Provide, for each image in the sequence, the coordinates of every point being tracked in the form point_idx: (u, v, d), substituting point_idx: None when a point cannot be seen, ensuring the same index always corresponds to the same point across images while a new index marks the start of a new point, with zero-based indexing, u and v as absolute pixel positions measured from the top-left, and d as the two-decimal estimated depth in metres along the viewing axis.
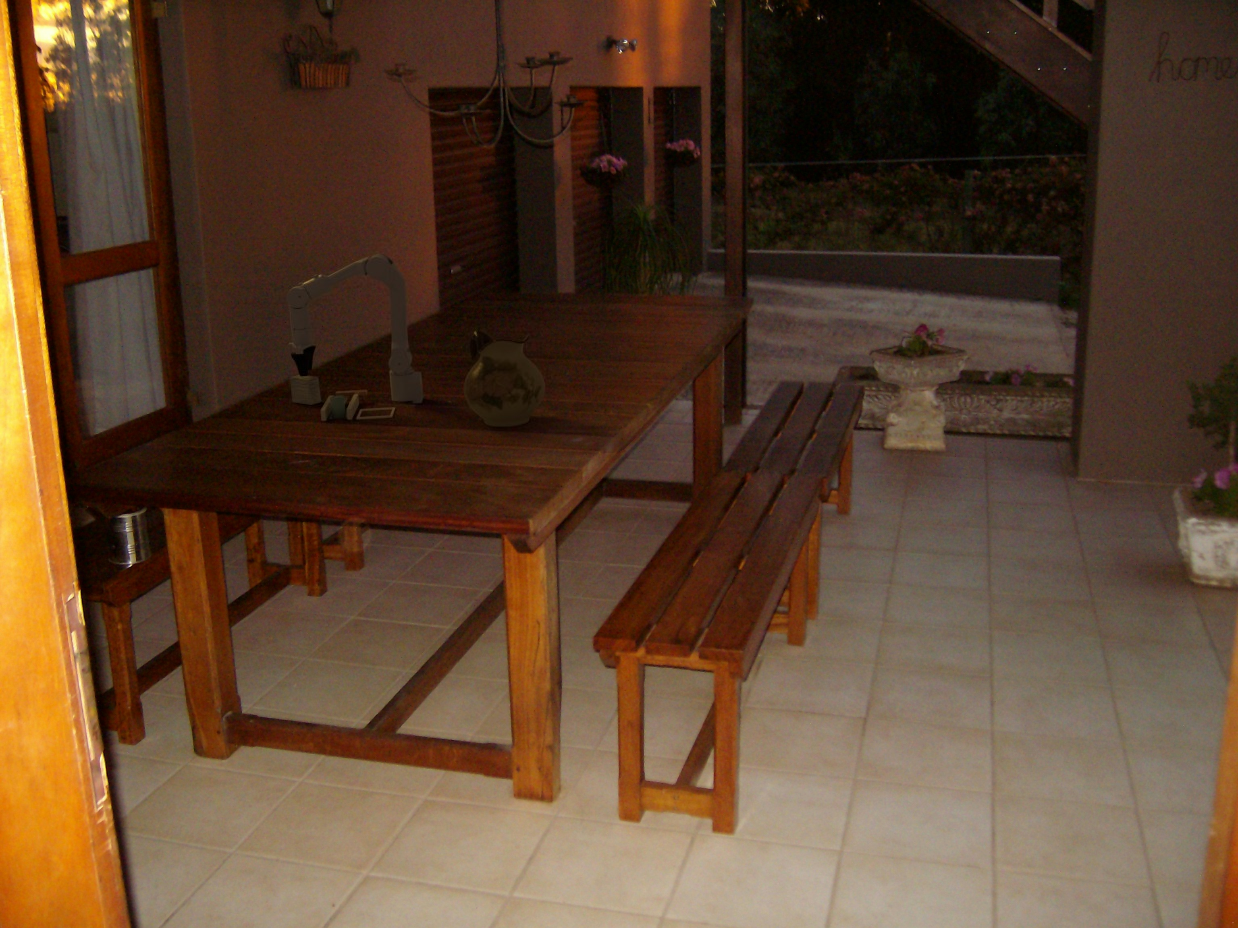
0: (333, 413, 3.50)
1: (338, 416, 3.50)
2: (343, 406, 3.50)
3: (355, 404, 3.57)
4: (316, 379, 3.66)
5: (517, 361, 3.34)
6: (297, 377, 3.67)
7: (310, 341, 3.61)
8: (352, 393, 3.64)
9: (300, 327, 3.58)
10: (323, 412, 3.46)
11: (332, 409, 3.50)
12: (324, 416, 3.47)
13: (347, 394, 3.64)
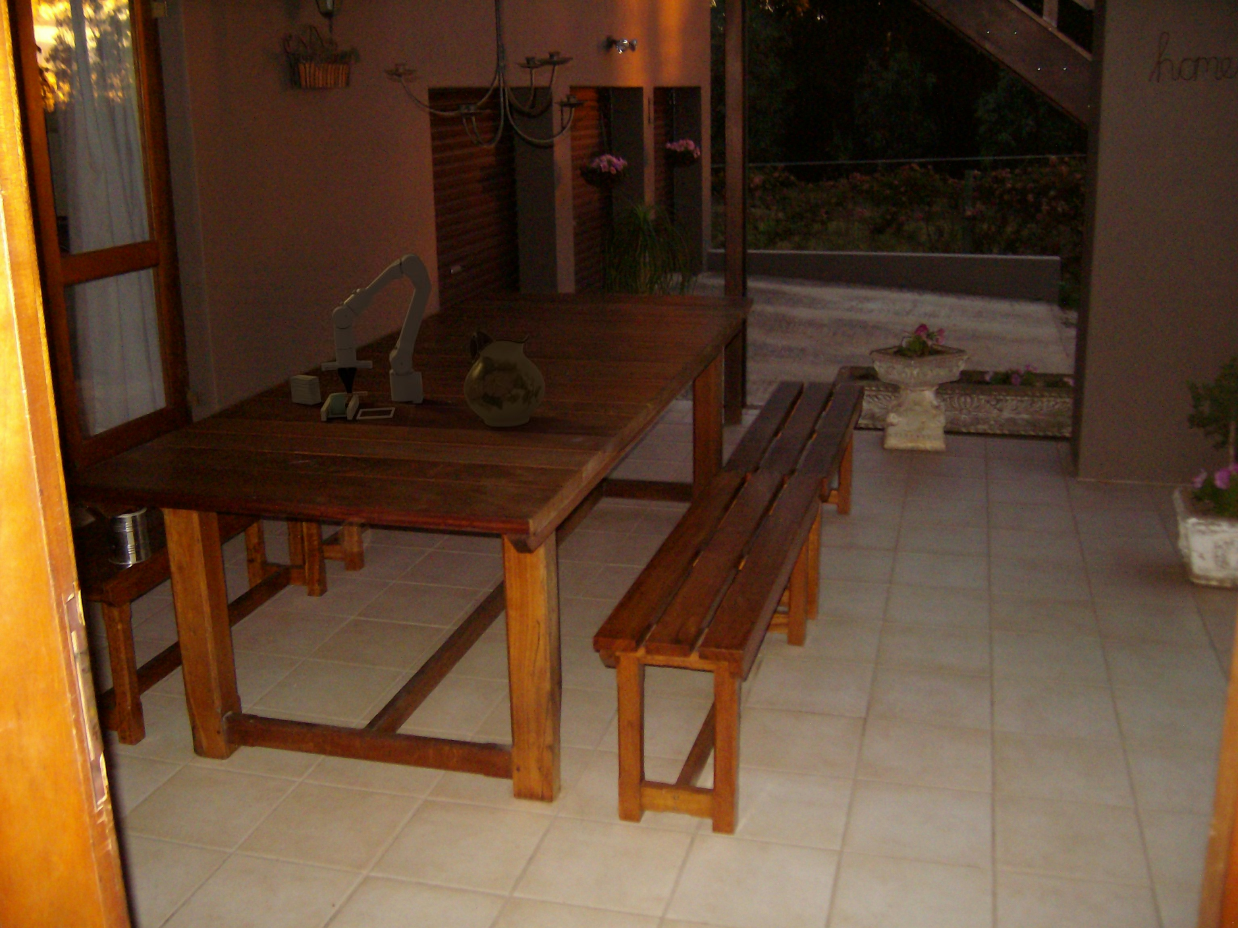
0: (333, 410, 3.49)
1: (338, 413, 3.49)
2: (343, 403, 3.50)
3: (355, 404, 3.57)
4: (316, 379, 3.66)
5: (517, 361, 3.34)
6: (297, 377, 3.67)
7: (340, 362, 3.60)
8: (352, 394, 3.64)
9: (346, 347, 3.59)
10: (323, 412, 3.46)
11: (332, 406, 3.49)
12: (324, 416, 3.47)
13: (347, 395, 3.64)
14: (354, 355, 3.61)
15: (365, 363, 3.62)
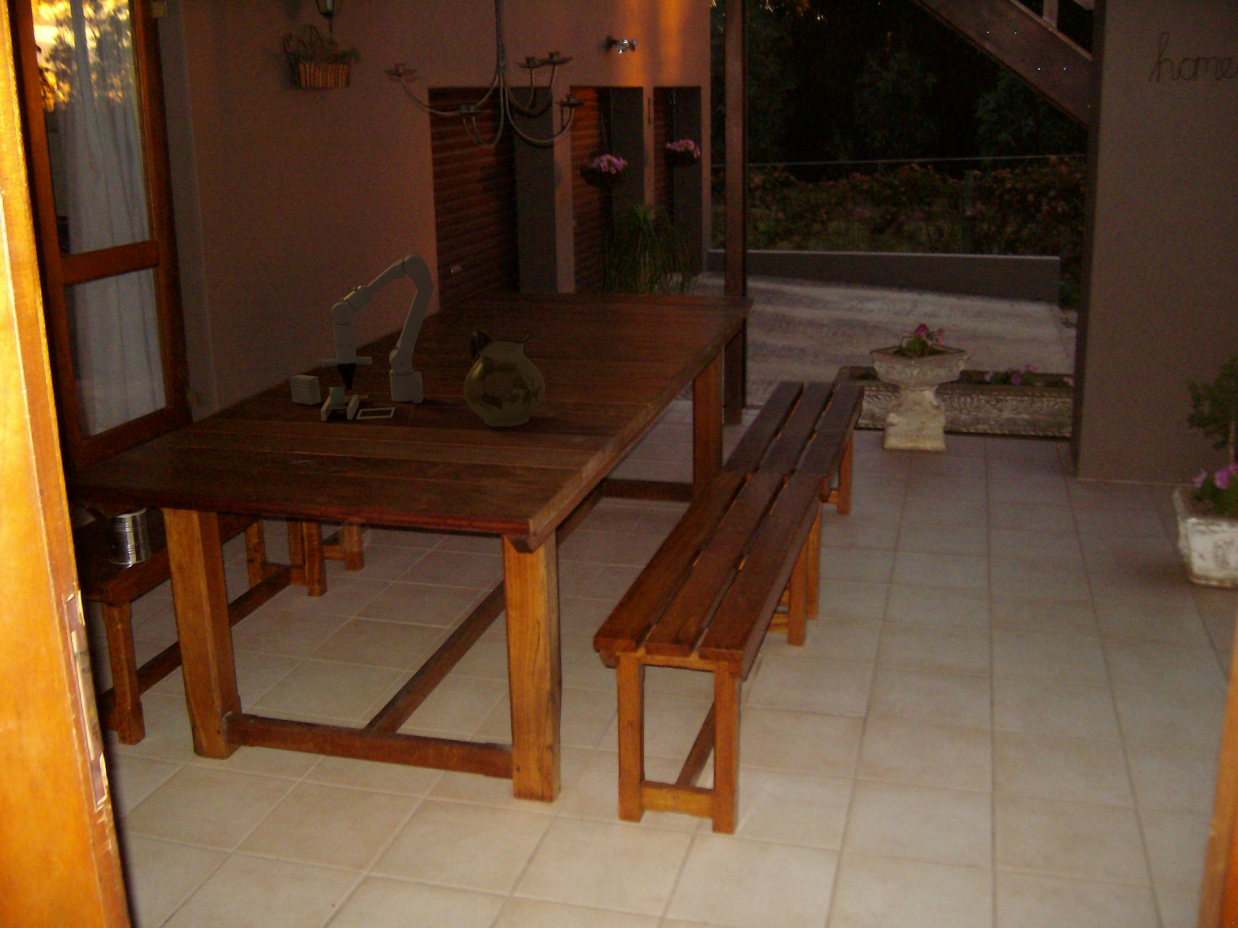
0: (332, 402, 3.49)
1: (337, 405, 3.49)
2: (342, 396, 3.50)
3: (355, 404, 3.57)
4: (316, 379, 3.66)
5: (517, 361, 3.34)
6: (297, 377, 3.67)
7: (340, 358, 3.60)
8: (352, 396, 3.65)
9: (346, 343, 3.58)
10: (323, 412, 3.46)
11: (331, 398, 3.49)
12: (324, 416, 3.47)
13: (347, 397, 3.65)
14: (354, 351, 3.61)
15: (365, 359, 3.62)
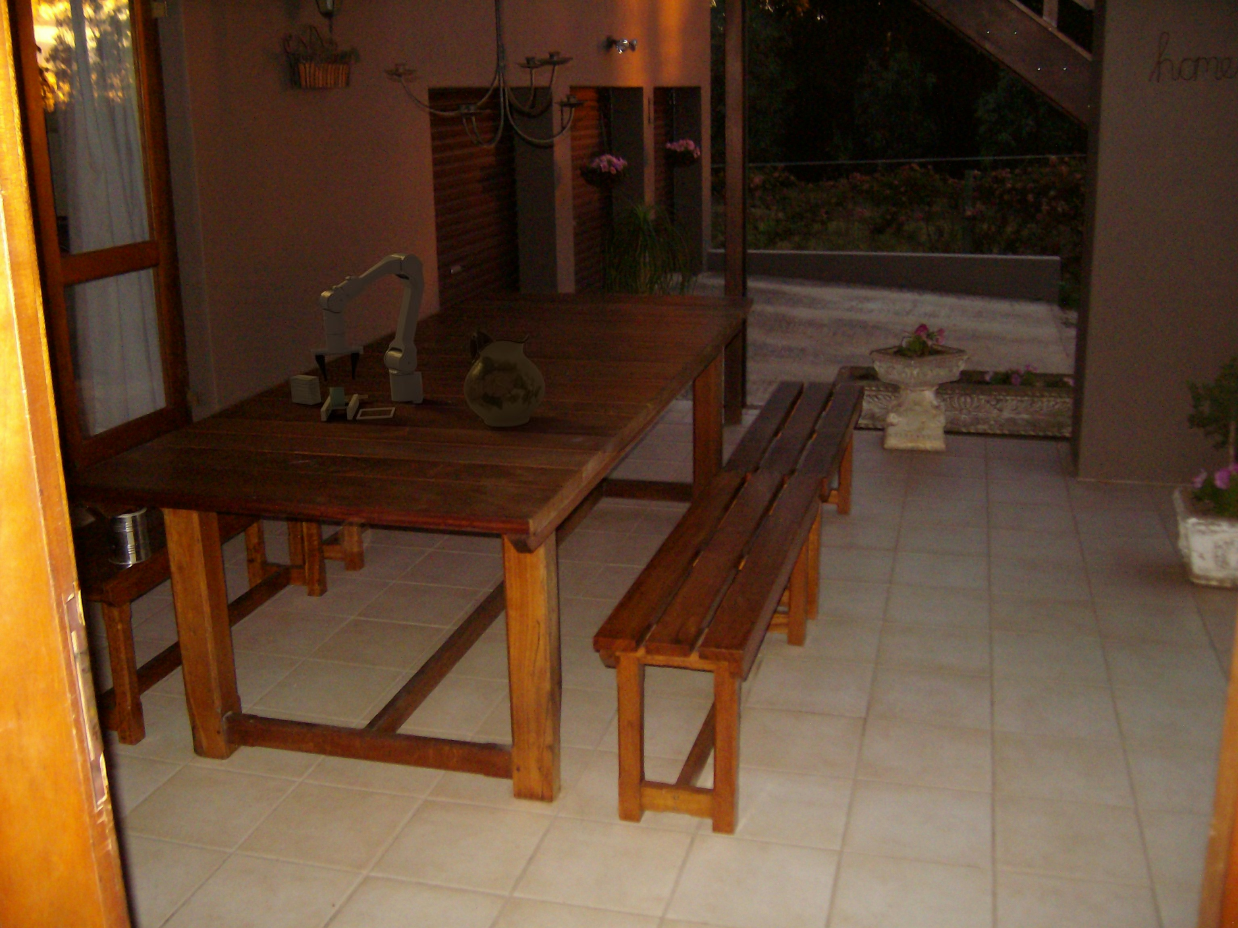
0: (332, 402, 3.49)
1: (337, 405, 3.49)
2: (342, 396, 3.50)
3: (355, 404, 3.57)
4: (316, 379, 3.66)
5: (517, 361, 3.34)
6: (297, 377, 3.67)
7: (331, 348, 3.49)
8: (352, 396, 3.65)
9: (340, 332, 3.49)
10: (323, 412, 3.46)
11: (331, 398, 3.49)
12: (324, 416, 3.47)
13: (347, 397, 3.65)
14: (345, 340, 3.51)
15: (356, 349, 3.52)
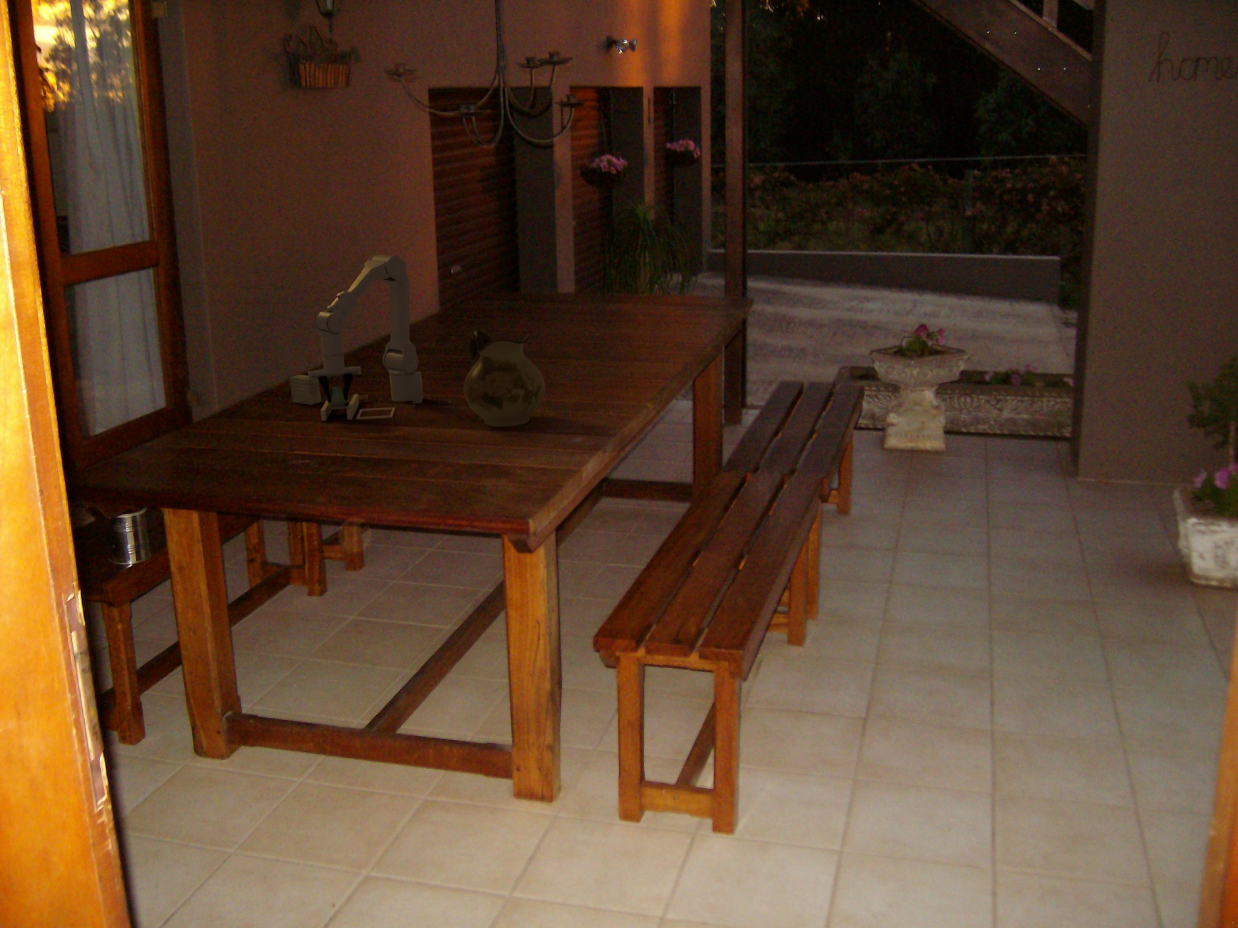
0: (332, 402, 3.49)
1: (337, 405, 3.49)
2: (342, 396, 3.50)
3: (355, 404, 3.57)
4: (316, 379, 3.66)
5: (517, 361, 3.34)
6: (297, 377, 3.67)
7: (330, 369, 3.45)
8: (352, 396, 3.65)
9: (339, 352, 3.45)
10: (323, 412, 3.46)
11: (331, 398, 3.49)
12: (324, 416, 3.47)
13: None
14: (343, 361, 3.48)
15: (355, 369, 3.49)
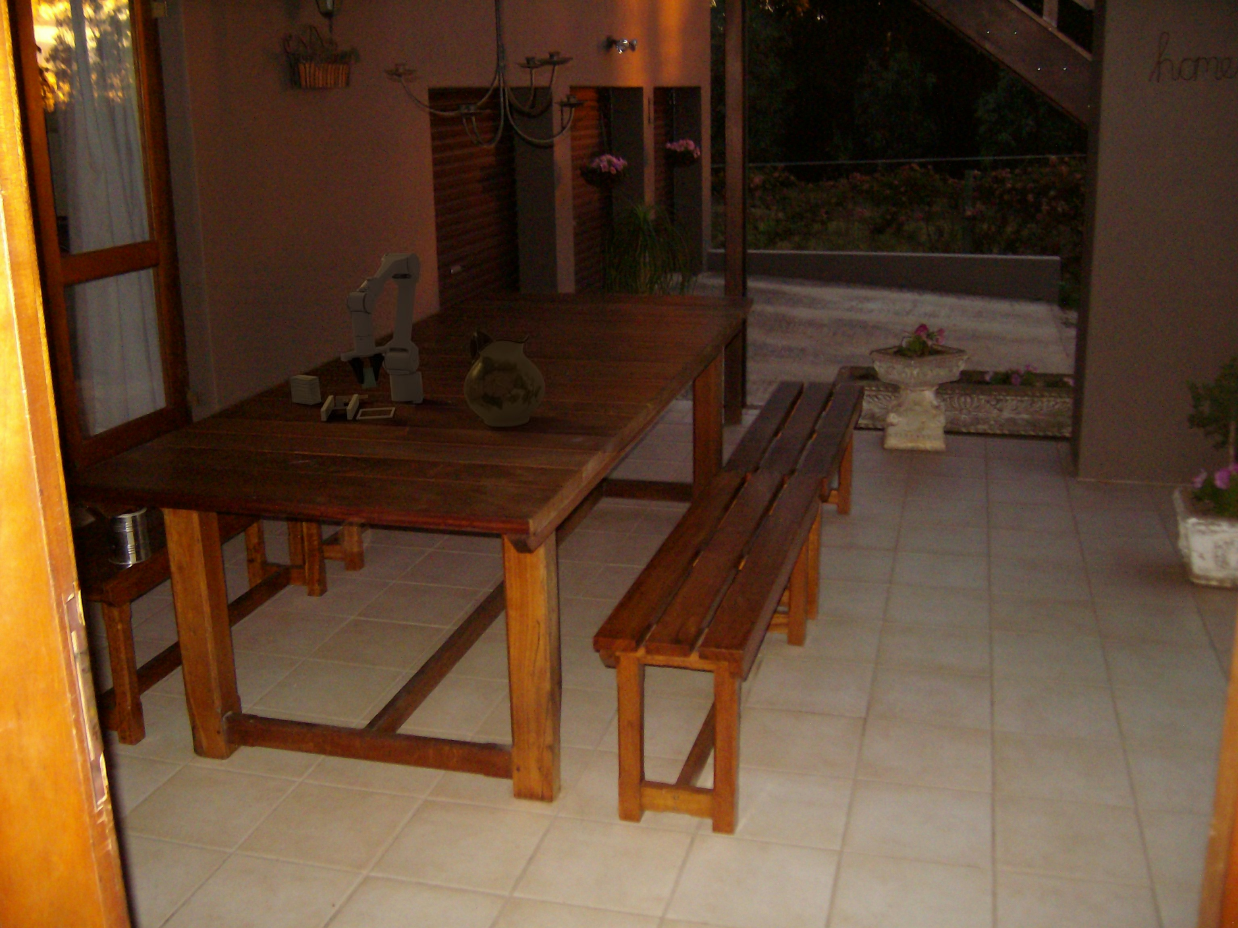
0: (366, 384, 3.48)
1: (371, 386, 3.48)
2: (374, 376, 3.49)
3: (355, 404, 3.57)
4: (316, 379, 3.66)
5: (517, 361, 3.34)
6: (297, 377, 3.67)
7: (365, 350, 3.44)
8: (352, 396, 3.65)
9: (372, 332, 3.45)
10: (323, 412, 3.46)
11: (364, 380, 3.48)
12: (324, 416, 3.47)
13: (347, 397, 3.65)
14: None
15: (384, 348, 3.50)
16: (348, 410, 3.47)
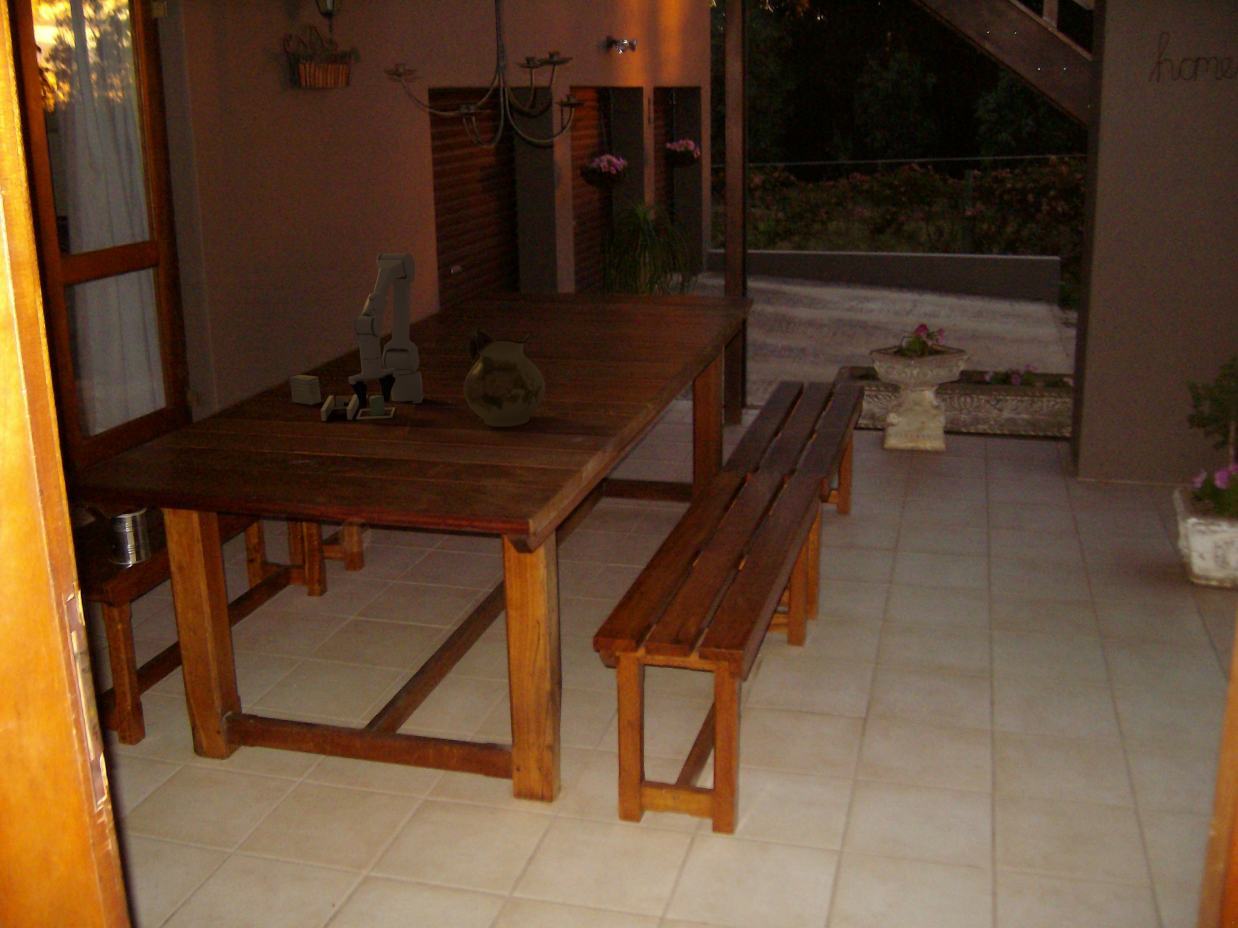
0: (375, 413, 3.50)
1: (381, 415, 3.51)
2: None
3: (355, 404, 3.57)
4: (316, 379, 3.66)
5: (517, 361, 3.34)
6: (297, 377, 3.67)
7: (373, 373, 3.46)
8: (352, 396, 3.65)
9: (380, 355, 3.47)
10: (323, 412, 3.46)
11: (374, 409, 3.50)
12: (324, 416, 3.47)
13: (347, 397, 3.65)
14: None
15: (391, 370, 3.52)
16: (348, 410, 3.47)
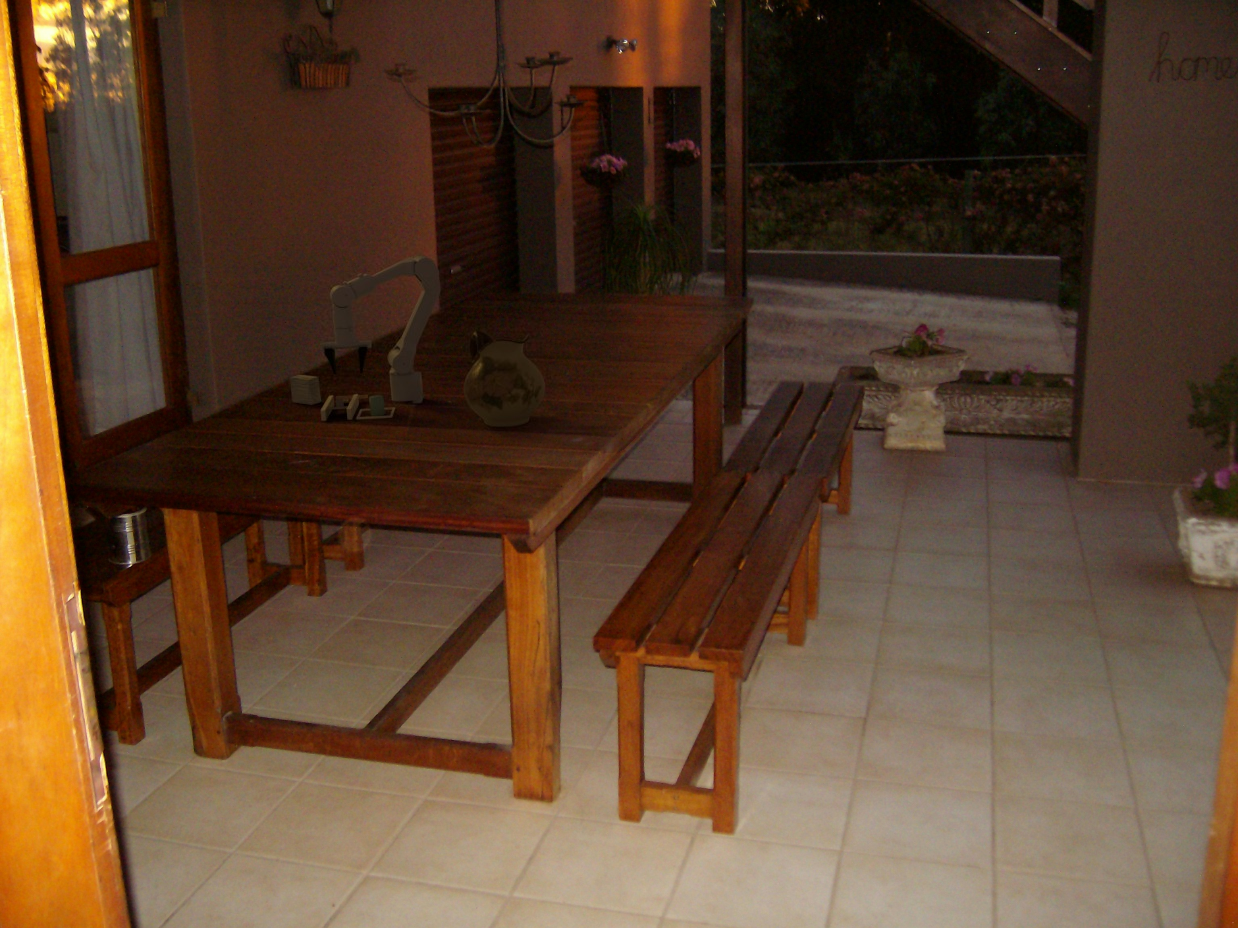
0: (376, 412, 3.50)
1: (381, 415, 3.51)
2: (383, 404, 3.52)
3: (355, 404, 3.57)
4: (316, 379, 3.66)
5: (517, 361, 3.34)
6: (297, 377, 3.67)
7: (339, 342, 3.57)
8: (352, 396, 3.65)
9: (346, 326, 3.55)
10: (323, 412, 3.46)
11: (375, 409, 3.50)
12: (324, 416, 3.47)
13: (347, 397, 3.65)
14: (353, 334, 3.58)
15: (364, 343, 3.59)
16: (348, 410, 3.47)
